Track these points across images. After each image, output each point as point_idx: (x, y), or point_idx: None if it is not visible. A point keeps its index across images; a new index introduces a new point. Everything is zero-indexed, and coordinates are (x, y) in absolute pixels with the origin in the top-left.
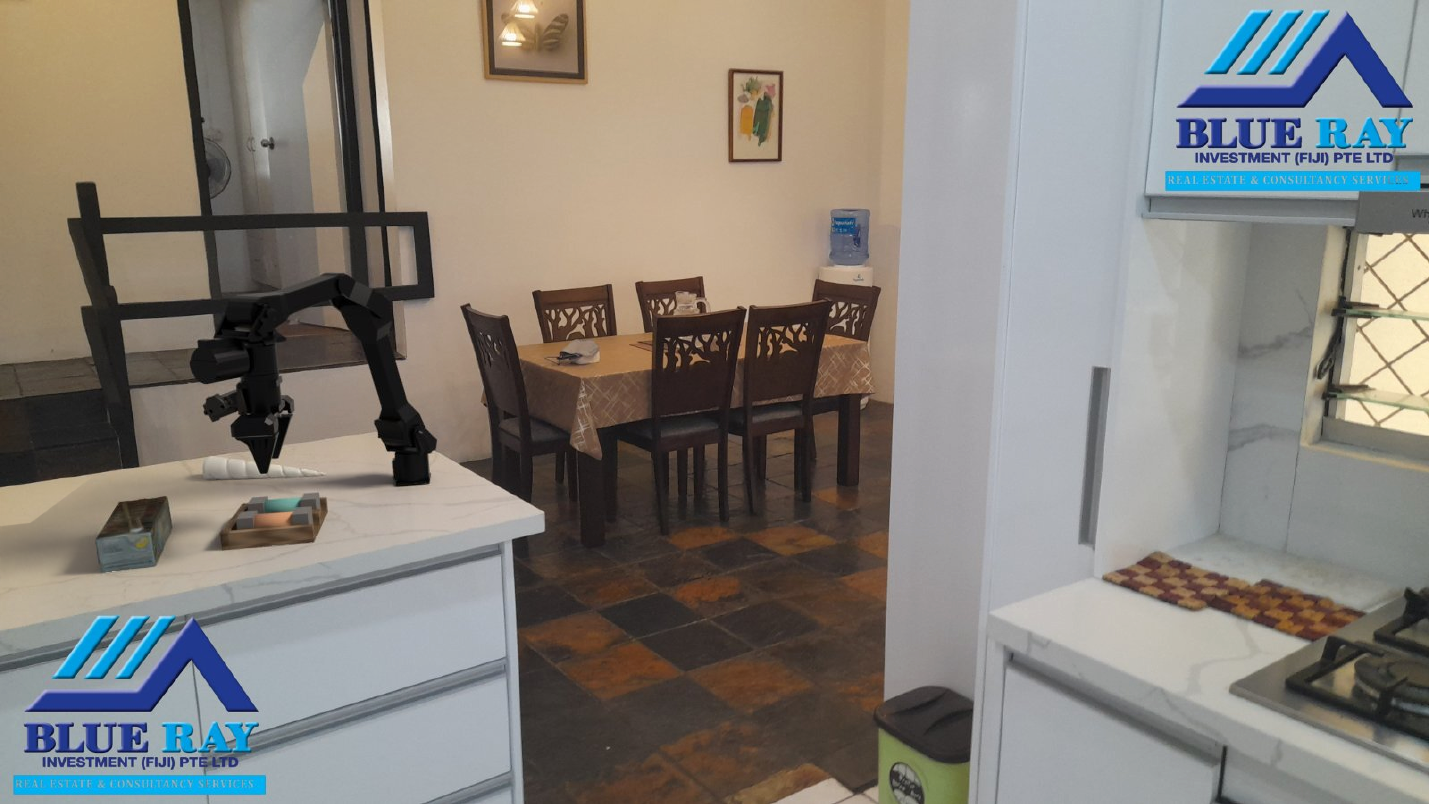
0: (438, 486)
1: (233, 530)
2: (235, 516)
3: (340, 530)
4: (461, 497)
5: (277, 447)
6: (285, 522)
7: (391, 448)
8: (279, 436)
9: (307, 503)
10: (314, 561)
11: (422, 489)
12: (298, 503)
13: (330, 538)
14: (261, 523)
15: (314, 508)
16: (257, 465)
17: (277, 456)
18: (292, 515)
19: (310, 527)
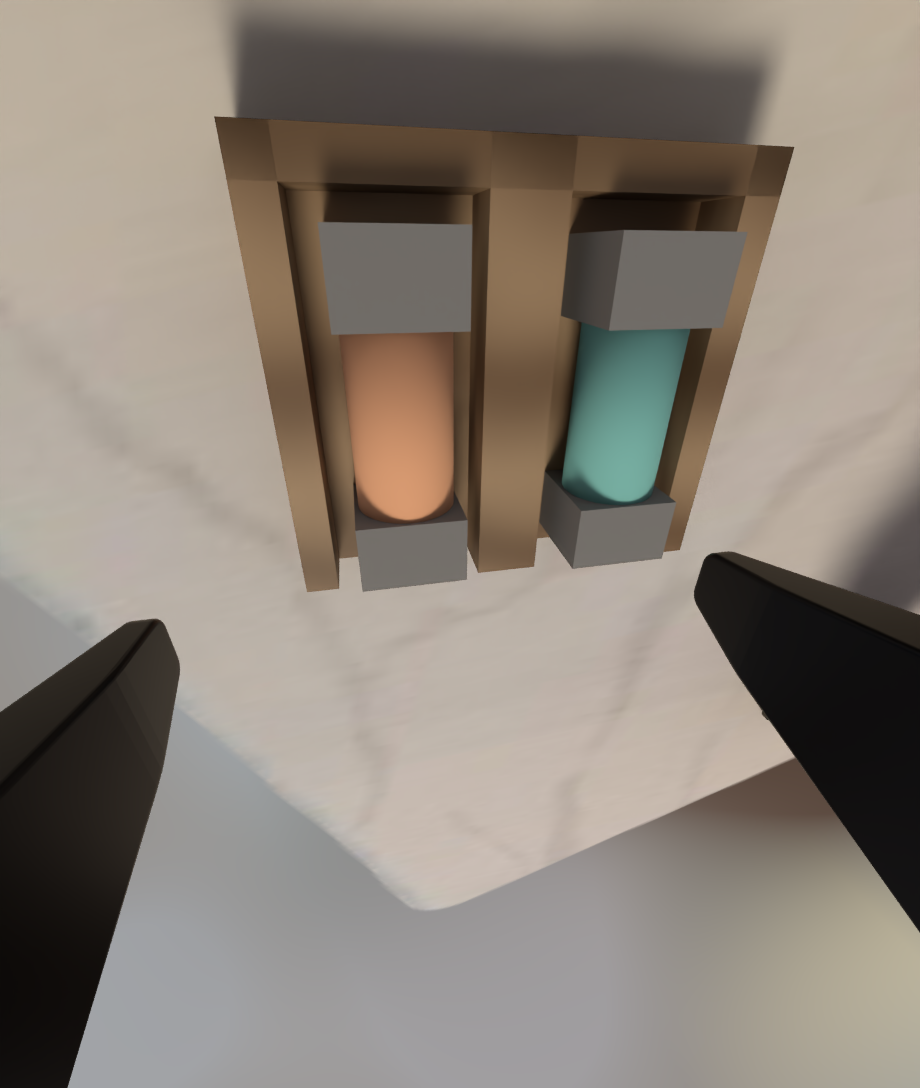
0: (728, 733)
1: (280, 208)
2: (558, 155)
3: (429, 602)
4: (612, 790)
5: (768, 676)
6: (359, 482)
7: None
8: (881, 801)
9: (569, 528)
10: (95, 603)
11: (725, 708)
12: (588, 489)
13: (349, 593)
14: (346, 371)
15: (557, 538)
16: (33, 700)
17: (702, 608)
18: (356, 531)
19: (306, 582)
